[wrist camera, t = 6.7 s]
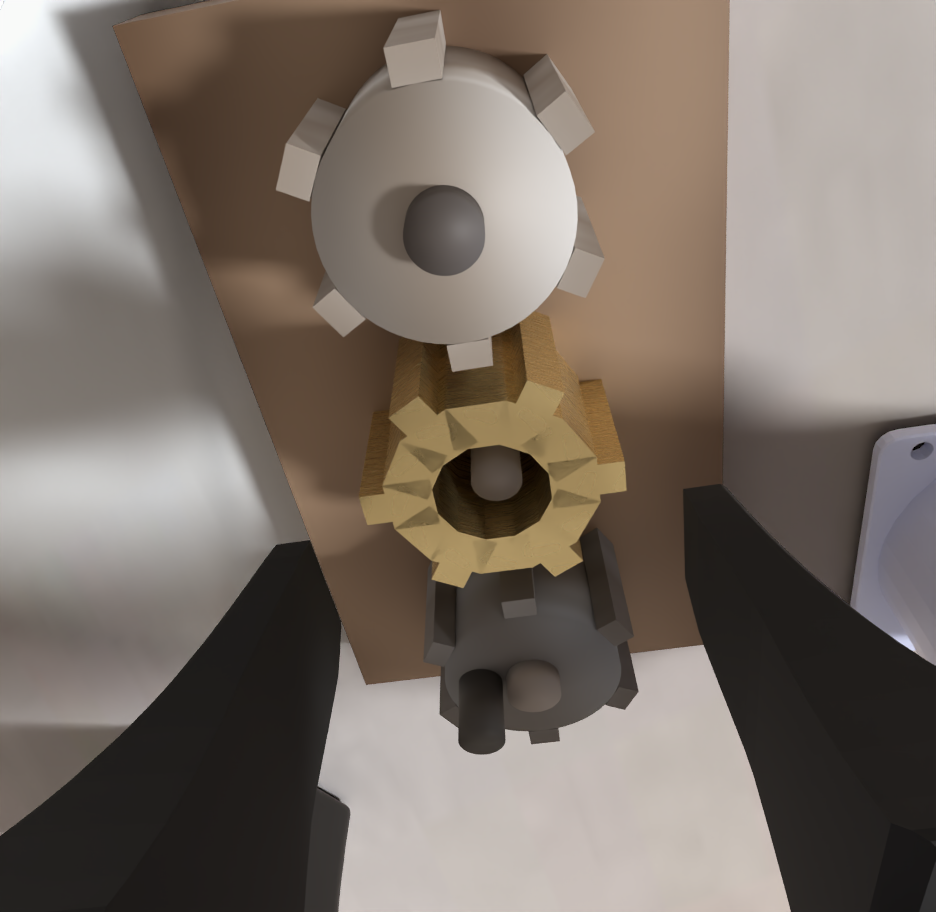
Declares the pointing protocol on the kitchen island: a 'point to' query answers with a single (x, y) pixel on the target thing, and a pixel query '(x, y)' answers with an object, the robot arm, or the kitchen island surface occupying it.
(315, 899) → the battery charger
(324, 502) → the gear board
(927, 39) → the kitchen island surface
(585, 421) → the brass gear
